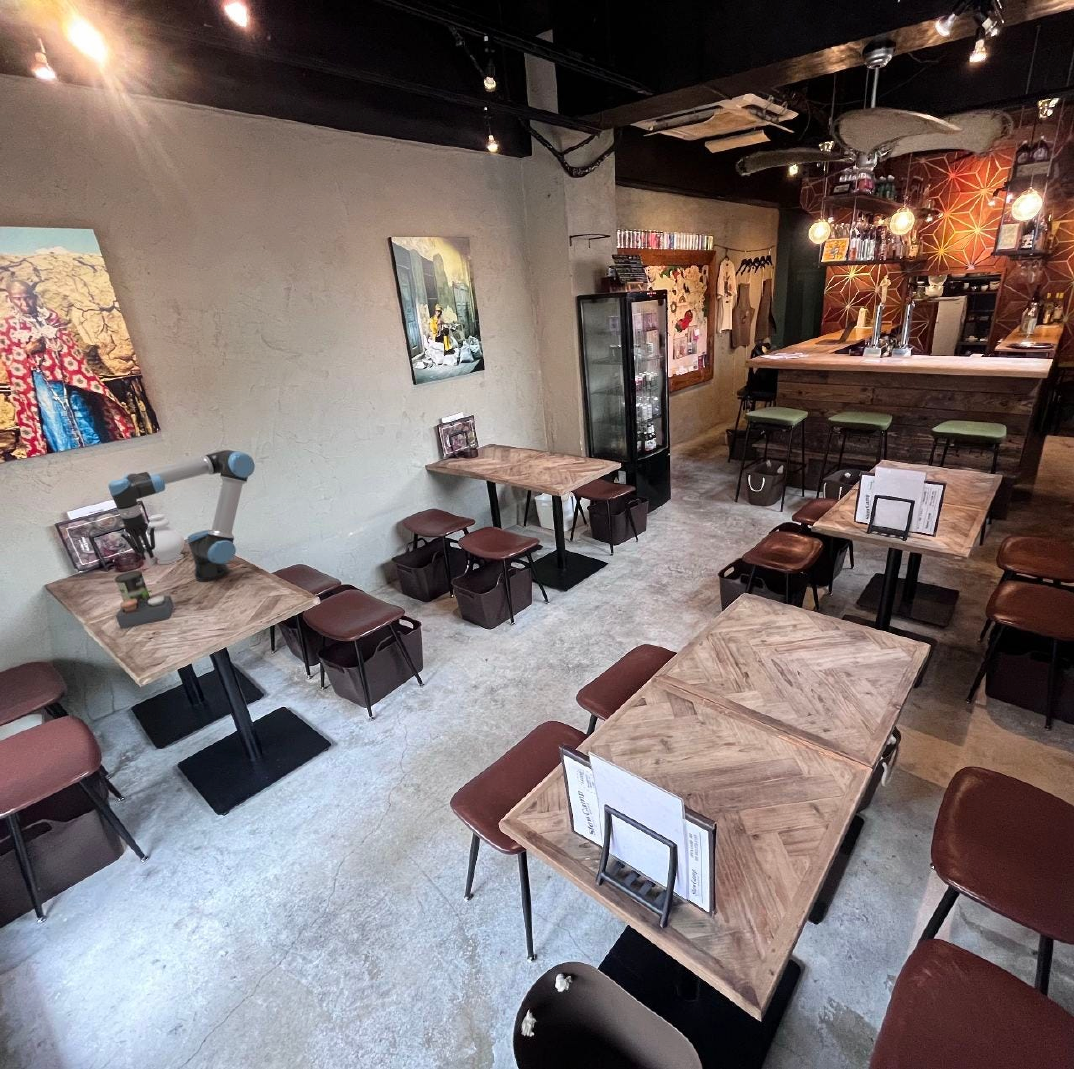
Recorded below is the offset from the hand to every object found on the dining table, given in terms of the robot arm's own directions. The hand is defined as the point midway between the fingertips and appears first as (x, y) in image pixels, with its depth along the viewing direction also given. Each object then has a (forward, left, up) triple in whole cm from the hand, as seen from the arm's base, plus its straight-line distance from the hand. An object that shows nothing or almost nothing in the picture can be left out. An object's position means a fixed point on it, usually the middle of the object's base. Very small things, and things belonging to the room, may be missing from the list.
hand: (151, 564), depth 254 cm
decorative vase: (+9, -63, -20) cm, 67 cm away
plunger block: (+5, +10, -20) cm, 23 cm away
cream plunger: (0, +10, -19) cm, 21 cm away
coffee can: (+13, -9, -20) cm, 26 cm away
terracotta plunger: (+10, +10, -18) cm, 23 cm away
